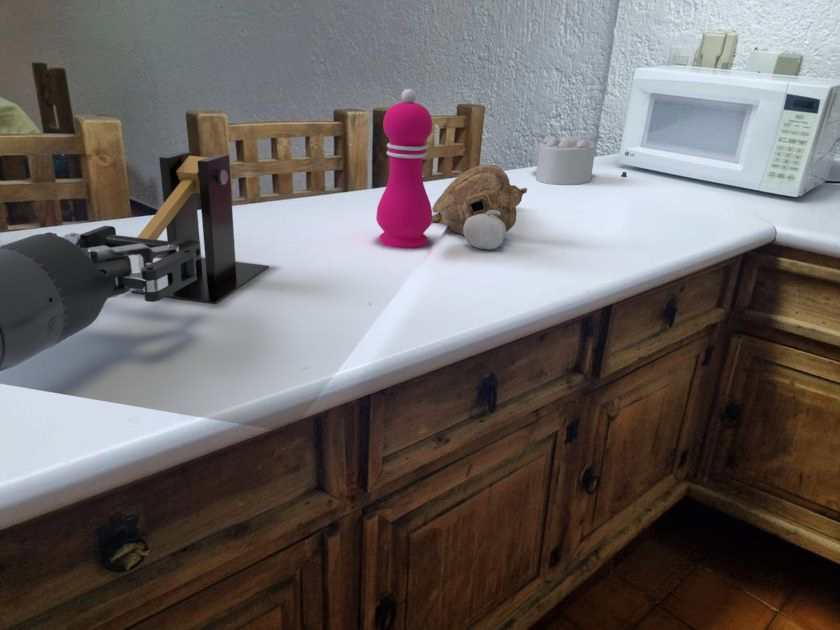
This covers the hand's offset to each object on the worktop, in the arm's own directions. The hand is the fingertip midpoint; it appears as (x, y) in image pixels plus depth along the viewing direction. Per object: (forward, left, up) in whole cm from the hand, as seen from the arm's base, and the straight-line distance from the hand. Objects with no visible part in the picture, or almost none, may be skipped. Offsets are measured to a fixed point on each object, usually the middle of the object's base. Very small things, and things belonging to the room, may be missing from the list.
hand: (153, 241), depth 59 cm
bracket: (0, +8, -7) cm, 11 cm away
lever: (0, +4, +1) cm, 4 cm away
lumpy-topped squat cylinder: (+35, +93, -8) cm, 100 cm away
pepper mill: (+16, +30, -8) cm, 35 cm away
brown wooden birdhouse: (+24, +50, -8) cm, 56 cm away
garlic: (+26, +35, -8) cm, 44 cm away
